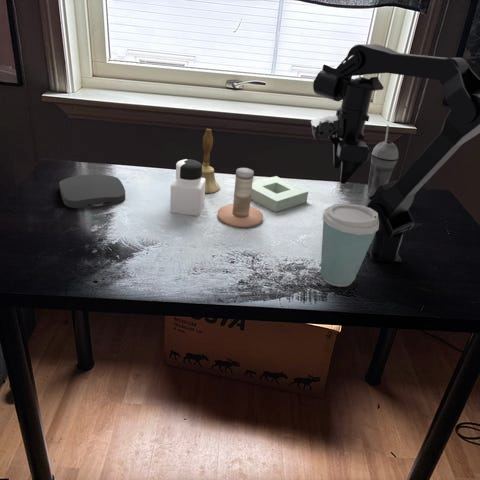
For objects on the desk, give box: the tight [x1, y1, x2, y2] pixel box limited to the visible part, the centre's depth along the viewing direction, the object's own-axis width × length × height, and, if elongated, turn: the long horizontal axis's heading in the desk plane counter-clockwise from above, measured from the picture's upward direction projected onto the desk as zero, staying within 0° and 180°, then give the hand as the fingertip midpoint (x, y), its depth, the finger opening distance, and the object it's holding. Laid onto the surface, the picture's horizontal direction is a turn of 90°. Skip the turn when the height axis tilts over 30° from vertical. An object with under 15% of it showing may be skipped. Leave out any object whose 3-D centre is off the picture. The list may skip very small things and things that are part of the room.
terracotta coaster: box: [217, 203, 264, 229], centre depth 114 cm, size 11×11×1 cm
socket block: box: [251, 175, 309, 213], centre depth 125 cm, size 12×12×3 cm
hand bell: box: [202, 128, 221, 194], centre depth 124 cm, size 8×8×16 cm
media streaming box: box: [58, 173, 126, 209], centre depth 117 cm, size 15×15×3 cm
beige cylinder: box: [232, 167, 255, 218], centre depth 111 cm, size 4×4×11 cm
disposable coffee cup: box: [320, 202, 379, 288], centre depth 91 cm, size 11×11×15 cm
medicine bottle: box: [169, 158, 206, 217], centre depth 112 cm, size 7×7×12 cm
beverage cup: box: [366, 124, 399, 197], centre depth 129 cm, size 7×7×20 cm
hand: (339, 175), depth 108 cm, fingers open, 9 cm apart
